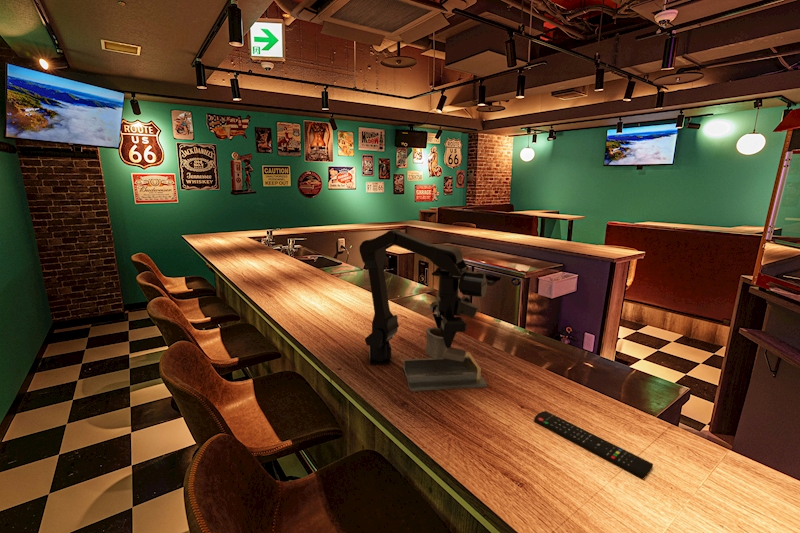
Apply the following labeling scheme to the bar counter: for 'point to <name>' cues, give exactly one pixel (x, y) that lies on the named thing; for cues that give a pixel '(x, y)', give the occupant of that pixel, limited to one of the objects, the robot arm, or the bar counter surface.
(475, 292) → the robot arm
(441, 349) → the pipe
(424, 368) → the pipe cradle
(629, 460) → the remote control
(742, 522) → the bar counter surface
